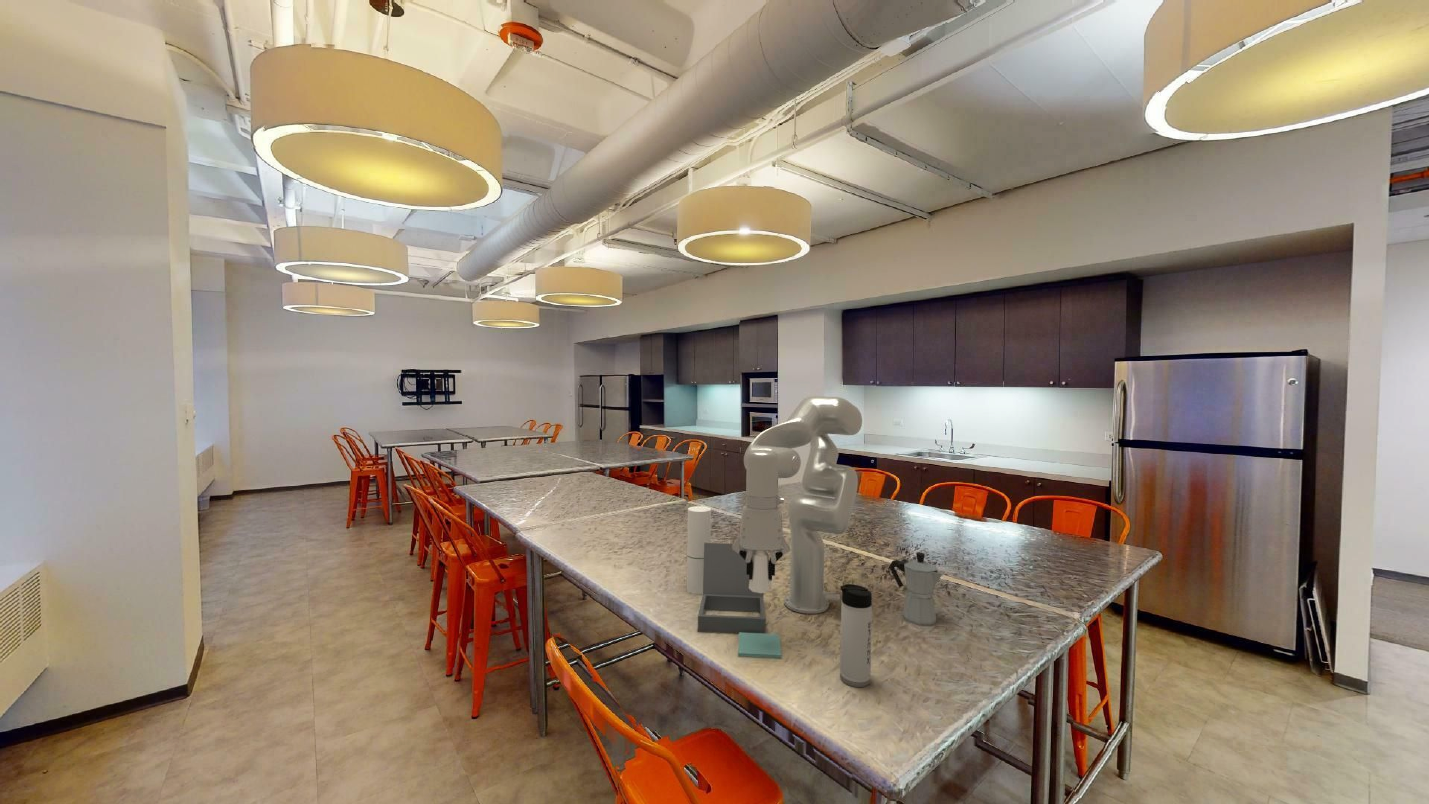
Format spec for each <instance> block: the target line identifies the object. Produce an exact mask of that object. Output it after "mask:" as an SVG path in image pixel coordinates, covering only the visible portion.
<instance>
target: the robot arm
mask: <svg viewBox="0 0 1429 804" xmlns="http://www.w3.org/2000/svg"><path fill="white" fill-rule="evenodd" d="M862 426H863V417H862V413H861V411H860V409H859V408H858V407H857V406H855V405H854V404H853V403H852V402H850V401H849V400H846V399H845V398H843V397H839V396H807V397H806V398H804V399H802V401H801V402H800V403H799V404H798V405H797V407H796V408H795V409H794V411H792V413H791V415H790V416H789V417H788V418H787V419H786V420H785V421H783V422H780V423H778V424H776V425H774V426H771V427H770V428H768V429H764V430H763V431H762V432H760V433H759V434H758V435H756V437H754V439H752V441H751V442H750V444H749V445H748V446H747V448H746V450H745V453H744V455H743V464H744V465H743V466H744V468H745V470H746V478H745V481H746V485H745V486H746V487H745V489H746V490H745V491H746V492H745V493H746V494H745V505H743V506H742V510H741V516H740V517H741V518H740V528H739V535H738V537H736V539H735V541H734V543H733V545H732V549H733V550H734V551H735V552H737V553H739V554H740V555H741V557H742V558H743V559H744V560H745V561H746V562H747V571H746V575H749V580H751V579H752V567H753V562H752V558H751V556H752V552H753V550H755V551H766V552H769V555H770V557H769V580H771V581H773V577H775V576H776V564H777V562H778V561H779V560H780V559H781V558H782V557H783V556H784V555H786V554H788V553H789V552H790V557H789V558H790V563H789V564H790V565H789V567H790V568H789V569H790V570H789V573H790V574H789V594H787V595H785V597H784V598H783V600H784V601H783V603H784V605H785V606H786V608H788V609H789V610H792V611H793V612H796V613H800V614H807V615H809V614H810V615H815V614H821V613H824V612H826V611H827V610H828V609H829V605H830V604H829V603H830V602H837V603H839V602H841V594H838V593H837V594H835V592H834V591H827V590H825V588H824V586H825V585H824V578H825V577H824V576H825V575H824V574H825V543H824V541H823V538H822V536H821V534H820V533H821V532H822V533H827V534H833V535H842V534H845V533H846V532H847V530H848V528H849V526H850V522H851V518H852V513H853V510H854V505H855V501H856V497H857V492H858V485H859V480H858V474H857V471H856V470H855V469H854V468H853V467H851V466H850V465H844V464H837V463H838V462H837V461H838V458H839V450H838V448H837V446H836V444H835V443H834V441H833V440H832V438H831V437H830V436H829V435H840V436H855V435H857V434H859V432H860V430H861V429H862ZM808 444H810V445H809V447H810V449H809V454H808V457H807V460H806V464H805V468H804V471H803V475H802V480H801V486H802V489H803V491H805V492H806V493H808V494H798V495H795V496H794V497H792V498H791V499H790V500H789V503H788V504H787V517H788V523H789V528H790V529H789V530H790V545H789V543H788V542H787V541H786V539H785V538H784V535H783V534H784V533H783V519H782V510H781V509H782V508H781V507H780V506H779V505H781V504H784V503H785V498H784V497H781V496H778V495H779V491H778V490H779V479H789V478H793V477H794V476H795V475H797V474H798V473H799V470H800V468H801V464H802V461H801V456H800V454H799V453H798V452H797V450H795V449H796V448H800V447H803V446H806V445H808ZM811 494H812V495H811ZM739 545H740V546H741V547H739ZM744 549H745V550H747V552H746V551H745V550H744Z"/></svg>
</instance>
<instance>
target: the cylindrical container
mask: <svg viewBox="0 0 1429 804" xmlns="http://www.w3.org/2000/svg"><path fill="white" fill-rule="evenodd" d="M711 529H712V508H711V507H709V506H705V505H704V506H701V505H699V506H698V505H695V506H689V507H688V508H687V534H686V535H687V536H686V537H687V542H686V543H687V545H686V546H687V547H686V548H687V549H686V550H687V551H686V558H687V559H686V591H687V592H688V593H689V594H693V595H703V571H704V543H712V542H711V540H712V539H711V536H712V530H711Z"/></svg>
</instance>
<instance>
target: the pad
mask: <svg viewBox="0 0 1429 804" xmlns="http://www.w3.org/2000/svg"><path fill="white" fill-rule="evenodd" d="M781 646H782V645H781V639H780V634H779V633H765V634H763V633H742V632H739V634H738V648H737V649H738V651H737V652H738V653H737V657H742V658H743V657H744V658H760V659H761V658H763V659H780V660H781V659H782V658H783V654H782V648H781Z"/></svg>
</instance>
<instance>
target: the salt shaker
mask: <svg viewBox="0 0 1429 804" xmlns="http://www.w3.org/2000/svg"><path fill="white" fill-rule="evenodd" d="M769 561H770V557H769V553H767V551H755V553H754V554H753V557H752V562H753V567H752V579H751V580H750V581H749V589H750V590H751V591H752V592H757V593H763V594H764V593H766V594H767V593H769V592H770V591H771V589H772V580H769Z"/></svg>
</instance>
